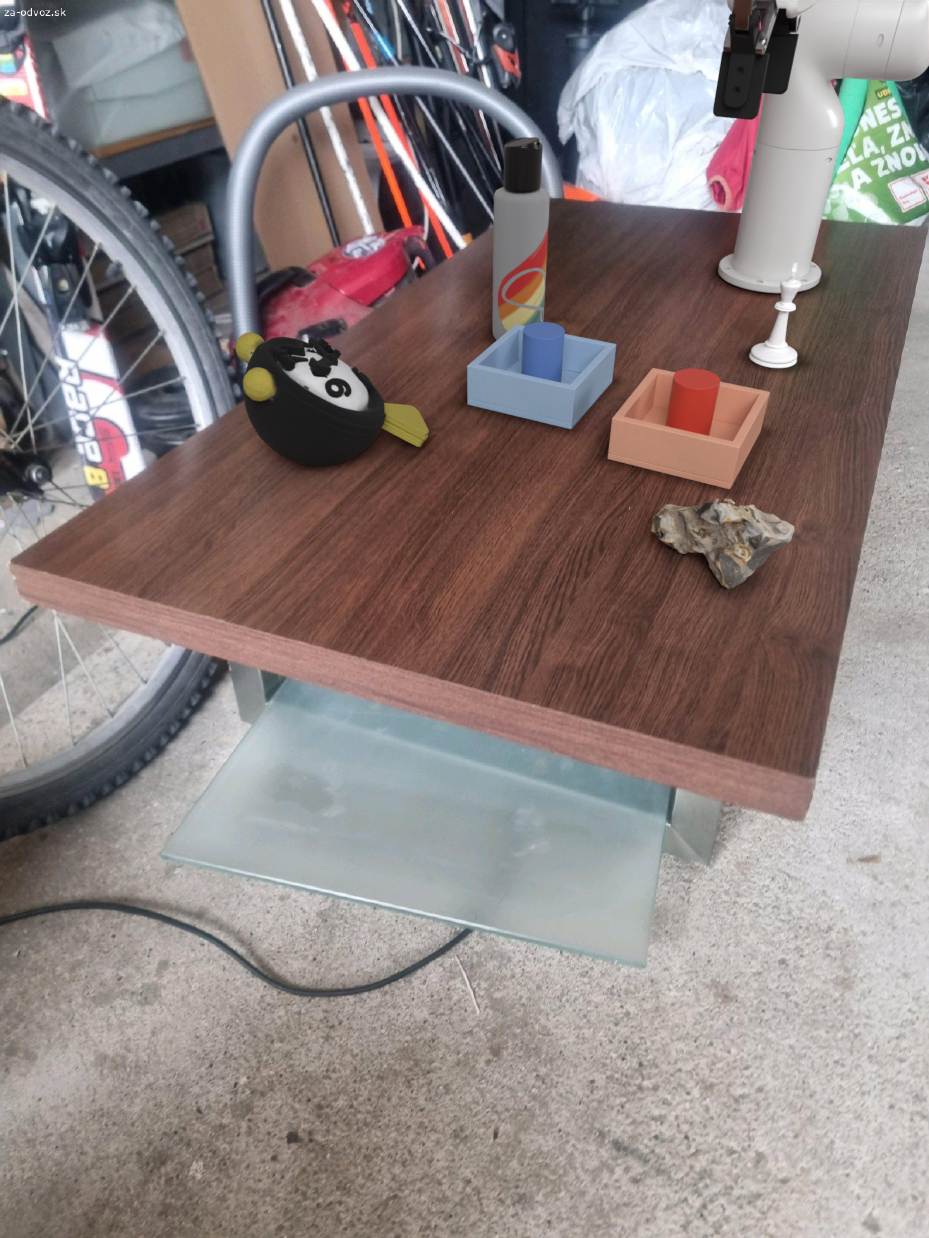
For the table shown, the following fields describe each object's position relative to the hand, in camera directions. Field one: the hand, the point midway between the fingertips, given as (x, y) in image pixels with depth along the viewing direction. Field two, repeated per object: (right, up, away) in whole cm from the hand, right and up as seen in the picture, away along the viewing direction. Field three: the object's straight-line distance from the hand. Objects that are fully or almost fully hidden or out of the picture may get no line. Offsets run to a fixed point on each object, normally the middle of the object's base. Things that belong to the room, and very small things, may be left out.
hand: (750, 104), depth 66 cm
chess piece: (+11, -12, +27) cm, 31 cm away
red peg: (-2, -23, +13) cm, 26 cm away
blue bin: (-14, -17, +21) cm, 30 cm away
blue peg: (-14, -16, +21) cm, 30 cm away
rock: (-3, -35, 0) cm, 35 cm away
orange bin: (-2, -24, +13) cm, 27 cm away
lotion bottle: (-16, -8, +32) cm, 36 cm away
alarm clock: (-34, -25, +12) cm, 44 cm away
